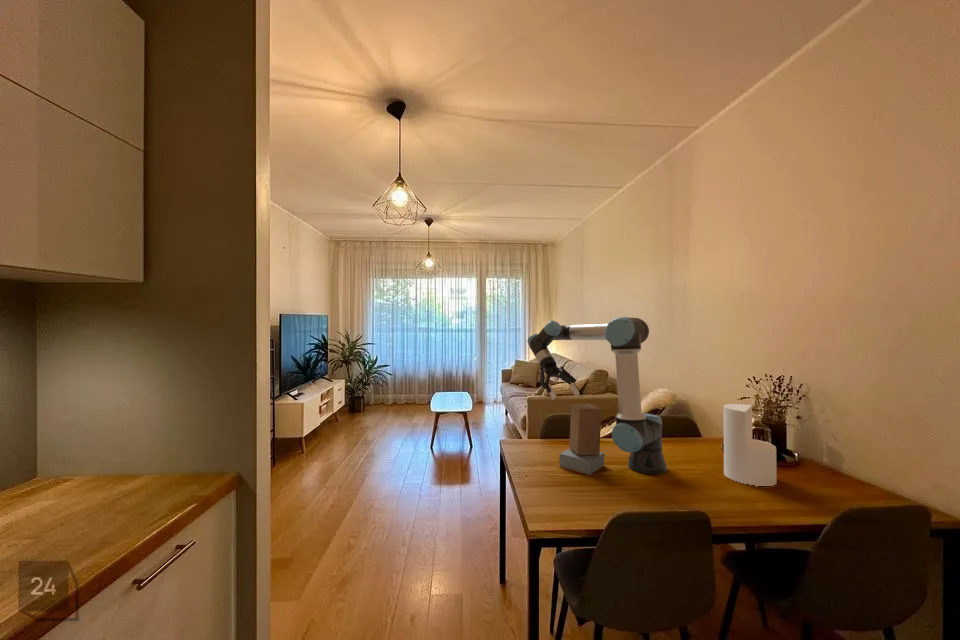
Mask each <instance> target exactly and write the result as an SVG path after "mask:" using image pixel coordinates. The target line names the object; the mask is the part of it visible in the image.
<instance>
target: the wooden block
mask: <svg viewBox="0 0 960 640" xmlns="http://www.w3.org/2000/svg"><path fill="white" fill-rule="evenodd" d="M570 405H571V406H570V423H569V424H570V425H569V443H568V445H569V447H568V449H571V450H572V451H573V452H575V453H576V454H577V455H600V452H601V451H600V450H601V426H602V425H601V424H602V408H601V407H598V406H596V405H594V404H591V403H571V404H570Z"/></svg>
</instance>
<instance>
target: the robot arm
mask: <svg viewBox="0 0 960 640" xmlns="http://www.w3.org/2000/svg"><path fill="white" fill-rule="evenodd" d="M649 334H650V328H649V325H648V323H647V322H646V321H644V320H643V319H641V318H638V317H629V316H628V317H626V316H621V317H615V318H613V319H611V320H610V321H609V322H608V323H594V324H592V323H591V324H590V323H589V324H565V325H563V324H561V325H560V323H558V322H557V321H556V320H549V321H548V322H547V323H546V324H544V326H543V328H542V329H541V330H540V331H539V333H533V334H531V335H530V336H528V338H527V344H528V346H529V349H530V350H531V352H532V353H533V355H534V357H535V360H536V361H537V362H538V364H539V366H540V368H539V369H538V374H539V387H541V388H543V389H545V390H546V392H547V393H548V394H549V396H550V398H551V399H552V401H553V400H555V399H556V398H557V393H556V392H555V391H554V388H553V387H552V385H551V384H549V383H550V379H551V378H557V379H560V380H562V381H563V382H565V383H566V384H568V385H569V389H571V392H572V393H573V395H574V397H575V398H578V397H579V396H580V392H579V390H578V386H577V385H576V382H577V379H576V378H575V377H574V376H573V375H572V374H570V373H569V371H567V370H566V369H565V368H564V367H563V366H560V367H558V366H557V362H556V360H555V358H554V357H553V354H552V353H551V351H550V350H549V348H548V347H549V345H550V344H552V342H553V341H572V340H573V341H607V342H608V343H609V344H610V350H611V352H613V354H614V357H615V369H616V370H615V371H616V383H617V399H618V413H617V414H616V415H615V425H614V426H613V428H612V430H611V439H612V441H613V443H614V444H615V446H617V448H618V449H620V450H621V451H623V452H626V453H630V454H629V457H628V460H627V465H628V467H629V468H630V469H631V470H634V471H636V472H638V473H642V474H647V475H648V474H649V475H661V474H662V475H663V474H665V473H666V472H667V468H668V467H667V463H666V461H665V457H664V454H663V422H662V421H663V420H662V418H661V416H660V415H657V414H651V413H644V412H642V401H641V385H640V384H641V383H640V373H639V371H640V369H639V359H638V358H639V357H638V355H639V354H638V353H639V352H640V351H641V350H642V344H643V343H644V342H646V340H647V339H648V337H649ZM545 375H546V376H545Z"/></svg>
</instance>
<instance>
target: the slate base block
mask: <svg viewBox="0 0 960 640" xmlns="http://www.w3.org/2000/svg"><path fill="white" fill-rule="evenodd" d="M602 466H603V467H604V466H605V453H604V452H603V451H602V452H601V451H600V455H577V454H576V453H575V452H573V451H572V450H571V449H570V448H568V449H566V450H563V451H562V452H560V453H559V467H560V468H562V467H563V469H566V468H567V469H566V470H570V469H571V471H573V470H575V471H574V472H577V471H579V472H578V473H580V472H582V473H581V474H584V473H585V475H588V474H589V475H588V476H591V475H593V474H594V473H595V471H596V470H597V471H598V469H599V468H600V469H601V467H602ZM603 467H602V468H603ZM600 469H599V470H600ZM597 471H596V472H597ZM593 472H594V473H593ZM592 473H593V474H592Z"/></svg>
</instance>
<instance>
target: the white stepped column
mask: <svg viewBox="0 0 960 640" xmlns="http://www.w3.org/2000/svg"><path fill="white" fill-rule="evenodd" d="M723 475H724V476H725V477H726V478H728V479H729V478H730V480H731V479H732V480H731V481H733V480H734V482H736V481H737V482H736V483H739V482H740V484H743V483H744V484H743V485H746V484H749V485H748V486H751V485H755V486H754V487H758V486H772V487H774V486H773V485H775V484H776V485H777V447H776V445H774V444H771V443H770V442H768V441H767V442H766V441H764V440H759V439H754V438H753V405H752V404H743V403H728V404H724V405H723ZM776 485H775V486H776Z"/></svg>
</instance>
